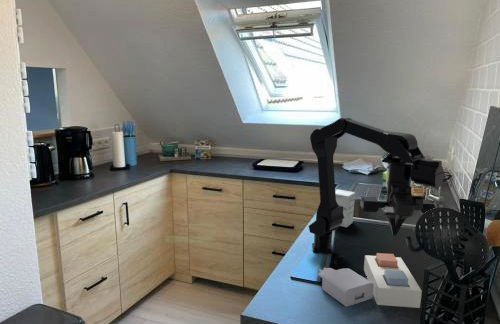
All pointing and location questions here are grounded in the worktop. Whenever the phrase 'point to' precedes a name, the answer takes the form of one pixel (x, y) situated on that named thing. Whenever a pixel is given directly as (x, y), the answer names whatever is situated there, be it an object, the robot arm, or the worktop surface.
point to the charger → (346, 286)
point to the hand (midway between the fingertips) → (394, 235)
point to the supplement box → (346, 205)
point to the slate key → (395, 278)
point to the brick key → (386, 260)
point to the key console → (392, 293)
